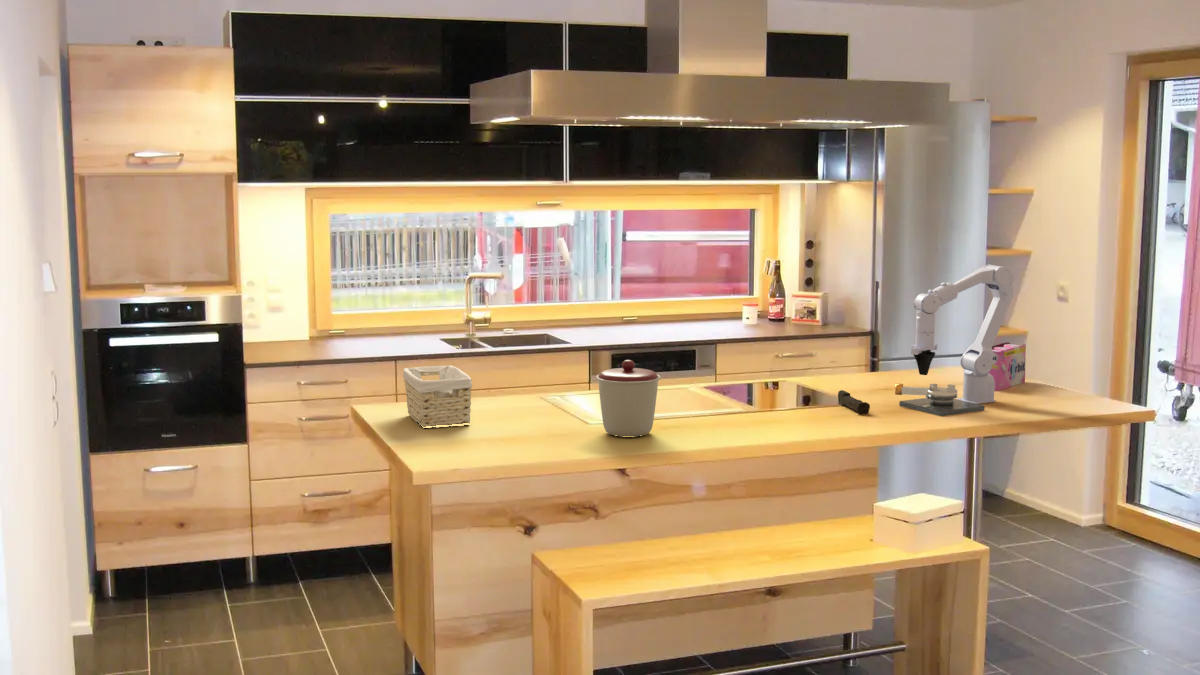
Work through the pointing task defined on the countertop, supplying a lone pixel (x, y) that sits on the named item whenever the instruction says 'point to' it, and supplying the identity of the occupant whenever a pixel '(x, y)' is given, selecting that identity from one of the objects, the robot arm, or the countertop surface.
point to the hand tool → (853, 403)
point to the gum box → (1008, 365)
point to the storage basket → (438, 395)
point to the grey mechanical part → (928, 391)
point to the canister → (628, 399)
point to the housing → (942, 406)
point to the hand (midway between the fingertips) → (923, 374)
